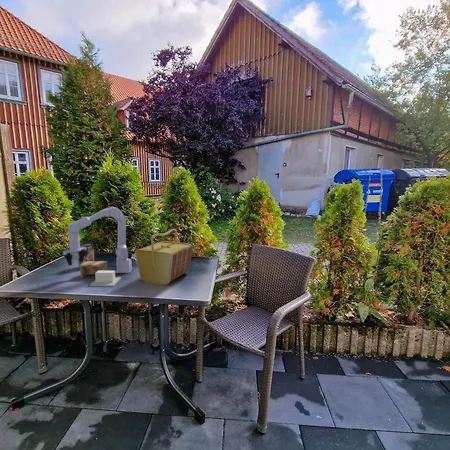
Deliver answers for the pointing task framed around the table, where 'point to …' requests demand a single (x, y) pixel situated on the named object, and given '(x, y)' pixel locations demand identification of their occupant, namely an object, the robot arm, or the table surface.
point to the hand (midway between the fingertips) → (75, 263)
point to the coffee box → (87, 253)
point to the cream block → (105, 276)
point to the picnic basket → (163, 260)
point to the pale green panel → (105, 283)
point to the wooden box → (92, 267)
